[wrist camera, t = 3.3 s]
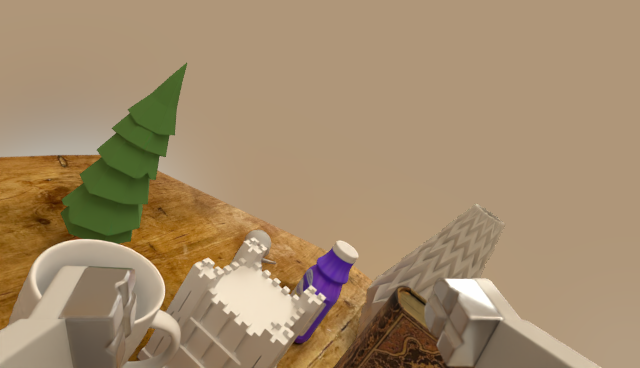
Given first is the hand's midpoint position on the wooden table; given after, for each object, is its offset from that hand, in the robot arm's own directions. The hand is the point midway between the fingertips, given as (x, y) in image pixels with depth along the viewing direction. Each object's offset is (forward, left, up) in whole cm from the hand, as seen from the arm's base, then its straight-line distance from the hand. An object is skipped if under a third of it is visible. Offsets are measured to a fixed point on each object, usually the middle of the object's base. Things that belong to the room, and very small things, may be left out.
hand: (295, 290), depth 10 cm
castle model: (+30, -1, -34) cm, 45 cm away
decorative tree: (+34, +23, -34) cm, 53 cm away
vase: (+54, -24, -34) cm, 68 cm away
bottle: (+46, -8, -34) cm, 57 cm away
